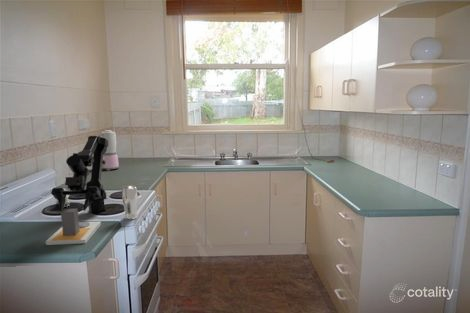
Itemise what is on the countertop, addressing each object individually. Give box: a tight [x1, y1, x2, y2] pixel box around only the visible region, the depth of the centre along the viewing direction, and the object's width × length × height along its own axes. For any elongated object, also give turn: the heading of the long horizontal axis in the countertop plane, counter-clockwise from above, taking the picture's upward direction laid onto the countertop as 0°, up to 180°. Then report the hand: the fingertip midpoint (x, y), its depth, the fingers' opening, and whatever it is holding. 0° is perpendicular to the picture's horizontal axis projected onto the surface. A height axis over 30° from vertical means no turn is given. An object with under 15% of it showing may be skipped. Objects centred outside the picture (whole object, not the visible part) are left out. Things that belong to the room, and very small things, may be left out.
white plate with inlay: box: [45, 221, 102, 246], centre depth 140 cm, size 20×15×2 cm
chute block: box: [60, 208, 80, 236], centre depth 136 cm, size 4×5×10 cm
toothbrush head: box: [64, 195, 71, 208], centre depth 185 cm, size 5×7×25 cm
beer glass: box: [121, 185, 138, 221], centre depth 159 cm, size 7×7×15 cm
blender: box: [98, 129, 120, 172], centre depth 269 cm, size 16×12×32 cm
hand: (72, 210), depth 138 cm, fingers open, 9 cm apart
